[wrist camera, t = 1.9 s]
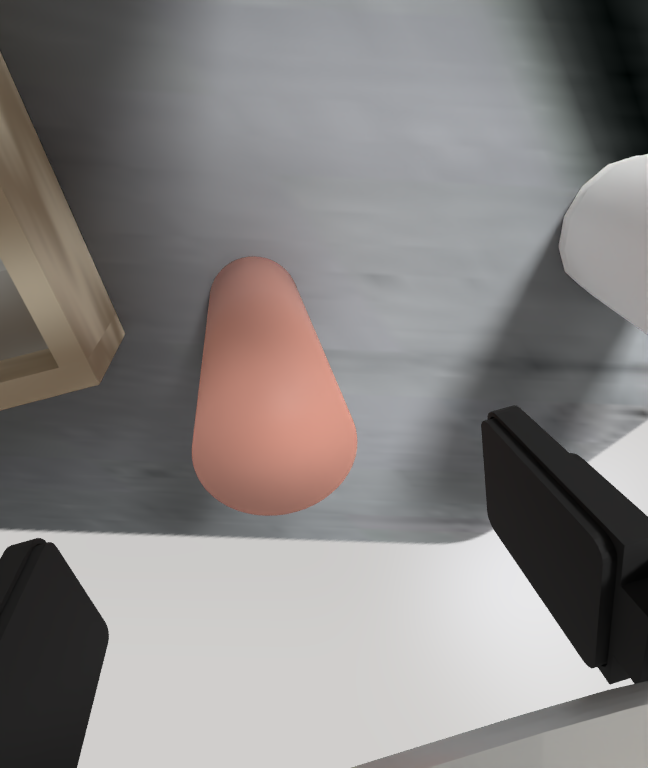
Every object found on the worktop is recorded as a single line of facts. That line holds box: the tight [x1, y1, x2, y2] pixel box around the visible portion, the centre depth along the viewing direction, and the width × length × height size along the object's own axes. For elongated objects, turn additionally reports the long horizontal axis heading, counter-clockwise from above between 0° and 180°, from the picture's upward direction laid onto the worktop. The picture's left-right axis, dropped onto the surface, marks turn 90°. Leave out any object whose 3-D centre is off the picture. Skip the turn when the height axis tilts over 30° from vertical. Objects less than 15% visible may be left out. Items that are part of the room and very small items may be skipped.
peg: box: [192, 257, 357, 516], centre depth 17 cm, size 4×4×12 cm
